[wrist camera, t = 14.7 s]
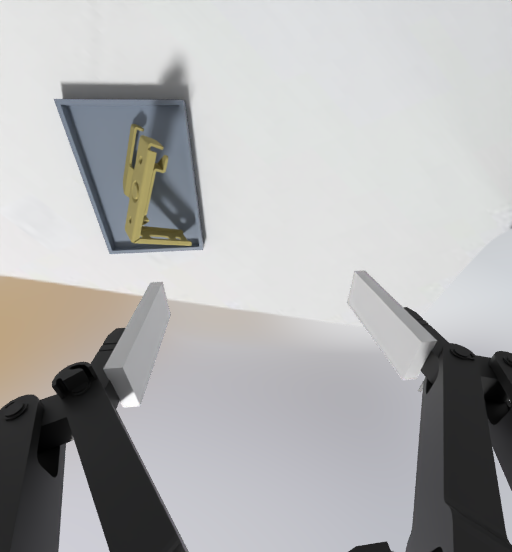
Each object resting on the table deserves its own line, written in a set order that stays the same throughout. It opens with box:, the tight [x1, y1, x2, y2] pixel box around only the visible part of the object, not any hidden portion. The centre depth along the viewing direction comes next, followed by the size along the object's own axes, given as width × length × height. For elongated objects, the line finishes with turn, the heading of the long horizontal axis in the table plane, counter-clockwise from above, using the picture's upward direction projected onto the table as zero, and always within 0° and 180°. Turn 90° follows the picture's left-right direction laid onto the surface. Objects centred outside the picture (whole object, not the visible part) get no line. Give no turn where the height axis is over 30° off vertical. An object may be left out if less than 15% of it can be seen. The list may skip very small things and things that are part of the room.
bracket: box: [123, 124, 192, 246], centre depth 38 cm, size 10×14×10 cm
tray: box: [54, 99, 204, 254], centre depth 39 cm, size 23×17×2 cm
